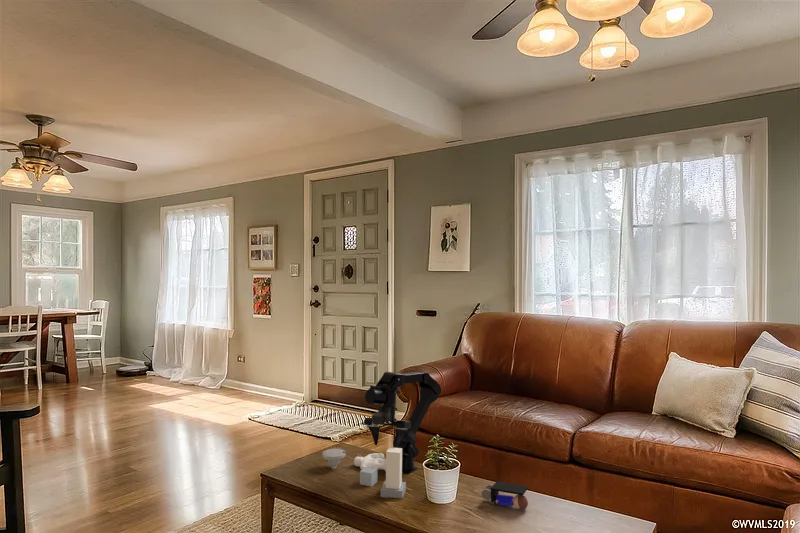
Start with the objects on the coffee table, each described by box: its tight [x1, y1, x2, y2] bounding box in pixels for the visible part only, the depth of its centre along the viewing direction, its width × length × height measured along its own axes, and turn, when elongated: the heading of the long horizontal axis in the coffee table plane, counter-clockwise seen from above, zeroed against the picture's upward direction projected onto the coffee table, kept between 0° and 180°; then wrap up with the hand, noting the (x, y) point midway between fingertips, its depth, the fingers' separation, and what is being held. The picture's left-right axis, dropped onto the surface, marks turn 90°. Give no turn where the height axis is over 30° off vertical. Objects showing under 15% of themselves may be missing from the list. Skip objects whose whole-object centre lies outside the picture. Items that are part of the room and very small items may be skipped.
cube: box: [359, 467, 378, 487], centre depth 192 cm, size 5×5×5 cm
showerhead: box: [322, 448, 347, 470], centre depth 207 cm, size 9×7×10 cm
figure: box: [353, 452, 386, 472], centre depth 205 cm, size 11×6×20 cm
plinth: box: [379, 480, 407, 499], centre depth 183 cm, size 8×8×3 cm
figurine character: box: [481, 480, 529, 511], centre depth 172 cm, size 7×8×15 cm
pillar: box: [385, 446, 403, 489], centre depth 183 cm, size 5×5×13 cm
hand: (385, 446), depth 193 cm, fingers open, 9 cm apart
